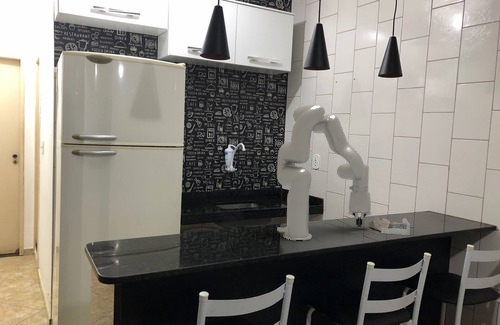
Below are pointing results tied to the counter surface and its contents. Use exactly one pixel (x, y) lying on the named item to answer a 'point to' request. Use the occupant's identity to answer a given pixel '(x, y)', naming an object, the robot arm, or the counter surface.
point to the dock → (403, 229)
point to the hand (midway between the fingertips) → (359, 226)
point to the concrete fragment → (379, 223)
